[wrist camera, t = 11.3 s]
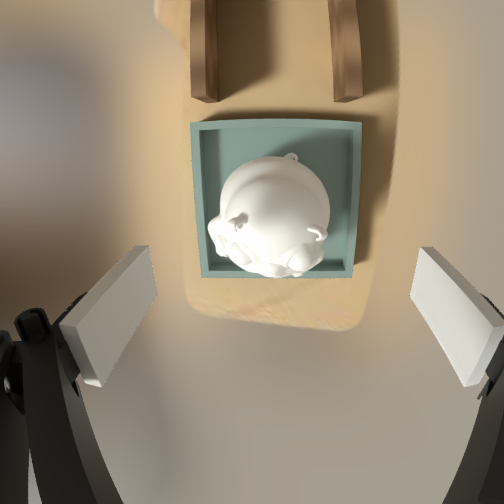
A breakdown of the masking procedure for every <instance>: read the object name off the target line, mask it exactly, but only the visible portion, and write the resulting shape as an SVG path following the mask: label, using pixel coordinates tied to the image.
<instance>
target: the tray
mask: <svg viewBox="0 0 504 504" xmlns="http://www.w3.org/2000/svg"><path fill="white" fill-rule="evenodd" d="M190 131H191V152H192V169H193V184H194V198H195V211H196V223H197V235H198V246H199V256H200V266H201V275H202V278H273V277H266V276H263V275H261V274H259V273H252V272H248V271H246V270H244V269H242V268H241V267H239V266H238V265H236V264H235V263H234V262H233V261H232V260H231V259H230V258H229V256H228V257H224V256H222V257H221V256H220V255H219V254H217V252H216V246H215V244H214V242H213V240H212V238H211V236H210V234H209V231H208V224H209V222H210V221H211V220H212V219H213V218H215V217H217V216H218V215H219V214H220V198H221V192H222V189H223V186H224V184H225V182H226V180H227V179H228V177H229V176H230V175H231V173H232V172H233V171H234V170H236V169H237V168H238V167H239V166H241V165H243V164H244V163H246V162H248V161H251V160H253V159H257V158H261V157H268V156H278V157H284V156H285V155H287V154H289V153H295V154H296V155H297V156H298V160H297V162H299V163H301V164H303V165H304V166H306V167H307V168H309V169H310V170H311V171H312V172H313V173H314V174H315V175H316V176H317V177H318V178H319V179H320V181H321V182H322V184H323V186H324V188H325V190H326V192H327V195H328V199H329V204H330V218H329V223H328V227H327V230H326V231H327V232H328V236H327V237H326V239H324V242H323V244H322V245H321V246H322V248H323V252H324V257H323V259H322V261H321V262H320V263H318V264H317V265H315V266H314V267H313V268H311V269H309V270H307V271H305V273H304V274H303V275H302V276H298V277H294V275H290V276H286V277H282V278H352V272H353V264H354V255H355V246H356V236H357V224H358V212H359V197H360V179H361V150H362V122H352V121H338V120H319V119H238V120H218V121H204V122H192V123H190ZM293 160H295V158H294V159H293ZM226 242H227V241H226Z"/></svg>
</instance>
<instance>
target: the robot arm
mask: <svg viewBox="0 0 504 504" xmlns="http://www.w3.org/2000/svg"><path fill="white" fill-rule="evenodd" d="M156 296H157V290H156V285H155V280H154V274H153V268H152V262H151V257H150V251H149V246H134V247H133V248H132V249H131V250H130V251H129V252H128V253H127V254H126V255H125V256H123V257H122V258H121V259H120V260H119V261H118V262H117V263H116V264H115V265H114V266H113V267H112V268H111V269H110V270H109V271H108V272H107V273H106V274H105V275H104V276H103V278H101V279H100V280H99V282H97V283H96V285H95V286H94V287H93V288H92V289H91V290H90V291H89V292H86V293H84V294H83V295H81V296H79V297H78V298H77V299H76V300H75V301H74V302H73V303H72V304H71V306H69V307H68V308H67V309H66V312H63V313H62V314H61V316H60V317H59V318H58V319H57V320H56V321H55V322H54V323H53V324H52V325H50V323H49V321H48V318H47V315H46V313H45V311H44V310H43V309H42V308H32V309H28V310H26V311H24V312H22V313H21V314H19V315H18V316H17V318H16V319H15V321H14V325H15V327H16V329H17V331H18V333H19V336H20V338H21V340H22V341H13V340H12V339H11V336H10V334H9V332H8V331H5V330H1V331H0V504H28V467H29V450H30V453H31V458H32V463H33V468H34V473H35V477H36V482H37V486H38V490H39V494H40V498H41V501H42V504H123V502H122V500H121V498H120V496H119V494H118V491H117V489H116V487H115V485H114V483H113V481H112V478H111V476H110V474H109V472H108V469H107V467H106V464H105V462H104V460H103V457H102V455H101V452H100V449H99V447H98V444H97V442H96V439H95V436H94V433H93V430H92V427H91V424H90V421H89V418H88V415H87V412H86V409H85V405H84V402H83V399H82V395H81V391H80V388H79V385H78V383H77V381H76V378H77V376H78V374H79V373H81V375H82V377H83V379H84V381H85V383H86V384H90V385H95V386H99V387H102V386H103V384H104V383H105V381H106V379H107V378H108V376H109V374H110V372H111V371H112V369H113V367H114V366H115V364H116V362H117V360H118V359H119V357H120V355H121V354H122V352H123V350H124V348H125V347H126V345H127V343H128V342H129V340H130V338H131V337H132V335H133V334H134V332H135V330H136V329H137V327H138V325H139V323H140V322H141V320H142V319H143V317H144V315H145V314H146V312H147V311H148V309H149V308H150V306H151V304H152V302H153V301H154V300H155V298H156ZM410 297H411V299H412V300H413V302H414V303H415V305H416V306H417V307H418V309H419V311H420V312H421V314H422V316H423V317H424V319H425V320H426V322H427V324H428V325H429V327H430V328H431V330H432V331H433V333H434V335H435V337H436V338H437V340H438V341H439V343H440V345H441V347H442V348H443V350H444V352H445V354H446V355H447V357H448V359H449V360H450V362H451V364H452V366H453V368H454V370H455V371H456V373H457V375H458V377H459V378H460V380H461V382H462V384H463V386H464V387H467V386H471V385H475V384H479V382H480V380H481V379H482V377H483V375H484V373H485V372H486V373H487V375H488V377H489V380H488V381H487V383H486V384H485V386H484V388H483V389H482V391H481V393H480V394H479V396H478V398H477V399H480V397H481V396H483V397H482V400H481V404H480V407H479V411H478V415H477V418H476V421H475V425H474V428H473V431H472V434H471V437H470V440H469V442H468V445H467V448H466V451H465V453H464V456H463V459H462V461H461V464H460V466H459V468H458V471H457V473H456V476H455V478H454V480H453V482H452V484H451V487H450V489H449V491H448V493H447V495H446V497H445V499H444V501H443V503H442V504H504V315H503V314H502V313H501V312H499V310H498V309H497V308H496V306H495V307H494V304H493V303H492V302H491V301H490V300H489V299H488V298H487V297H485V296H484V295H482V294H481V293H479V292H478V291H477V290H476V289H475V288H474V287H473V286H472V285H471V284H470V283H469V282H468V281H467V279H466V278H464V276H462V274H461V273H460V272H458V270H457V269H455V268H454V267H453V266H452V265H451V264H450V263H449V262H448V261H447V260H446V259H445V258H444V257H443V256H442V255H441V254H440V253H439V252H438V251H437V250H436V249H434V248H433V247H420V251H419V255H418V261H417V266H416V271H415V275H414V280H413V284H412V288H411V292H410ZM4 383H5V384H6V386H7V389H6V391H5V387H4Z"/></svg>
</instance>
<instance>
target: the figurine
mask: <svg viewBox="0 0 504 504" xmlns="http://www.w3.org/2000/svg"><path fill="white" fill-rule="evenodd" d="M294 158H295V160H293V159H294ZM297 160H298V156H297V155H296V154H295V153H289V154H287V155H285V156H284V157H278V156H268V157H261V158H257V159H253V160H251V161H248V162H246V163H244V164H243V165H241V166H239V167H238V168H237V169H236V170H234V171H233V172H232V173H231V175H230V176H229V177H228V179H227V180H226V182H225V184H224V186H223V189H222V192H221V198H220V214H219V215H218V216H217V217H215V218H213V219H212V220H211V221H210V222H209V224H208V231H209V234H210V236H211V238H212V240H213V242H214V244H215V246H216V252H217V254H219V255H220V256H221V257H222V256H224V257H228V256H229V258H230V259H231V260H232V261H233V262H234V263H235V264H236V265H238V266H239V267H241V268H242V269H244V270H246V271H248V272H252V273H259V274H261V275H263V276H266V277H273V278H282V277H286V276H290V275H294V277H298V276H302V275H303V274H304V273H305V271H307V270H309V269H311V268H313V267H314V266H315V265H317V264H318V263H320V262H321V261H322V259H323V257H324V252H323V248H322V246H321V245H322V244H323V242H324V239H326V237H327V236H328V232H327V231H326V230H327V227H328V223H329V218H330V204H329V199H328V195H327V192H326V190H325V188H324V186H323V184H322V182H321V181H320V179H319V178H318V177H317V176H316V175H315V174H314V173H313V172H312V171H311V170H310V169H309V168H307V167H306V166H304V165H303V164H301V163H299V162H297ZM226 241H227V242H226Z"/></svg>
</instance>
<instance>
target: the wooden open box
mask: <svg viewBox="0 0 504 504" xmlns="http://www.w3.org/2000/svg"><path fill="white" fill-rule="evenodd" d="M328 8H329V19H330V31H331V45H332V63H333V87H334V102H343V103H346V102H349V101H352V100H355V99H357V98H360V97H363V83H362V63H361V48H360V36H359V25H358V16H357V7H356V0H328ZM190 68H191V97H193V98H196V99H198V100H201V101H203V102H206V103H213V102H219V95H218V50H217V0H191V17H190Z"/></svg>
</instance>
